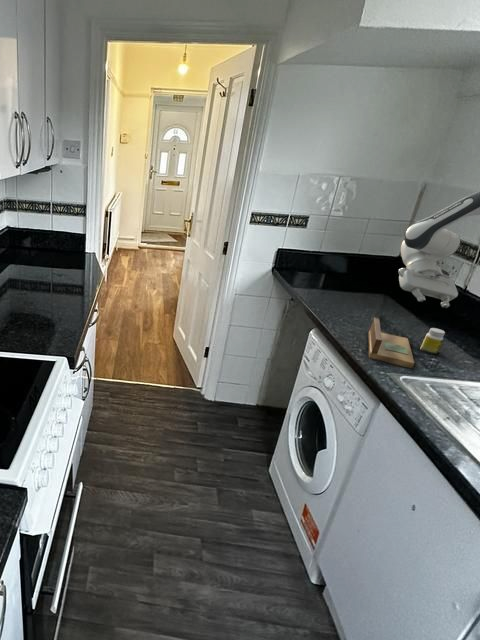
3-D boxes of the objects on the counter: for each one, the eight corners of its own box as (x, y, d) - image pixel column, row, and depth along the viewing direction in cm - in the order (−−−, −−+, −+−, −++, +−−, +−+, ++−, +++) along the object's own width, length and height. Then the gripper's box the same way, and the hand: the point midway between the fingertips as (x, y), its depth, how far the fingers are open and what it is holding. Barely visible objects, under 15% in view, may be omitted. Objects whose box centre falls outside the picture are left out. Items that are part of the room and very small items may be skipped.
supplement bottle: (437, 356, 140) (447, 335, 137) (420, 352, 142) (430, 331, 139) (434, 351, 144) (444, 329, 141) (418, 347, 146) (428, 326, 142)
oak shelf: (405, 343, 149) (412, 325, 146) (412, 368, 131) (420, 349, 129) (367, 334, 154) (373, 317, 152) (368, 357, 137) (375, 339, 134)
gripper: (404, 261, 150) (414, 292, 143) (454, 274, 152) (467, 305, 144) (390, 272, 155) (400, 302, 148) (439, 284, 157) (451, 314, 150)
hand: (434, 303), depth 146 cm, fingers open, 8 cm apart
